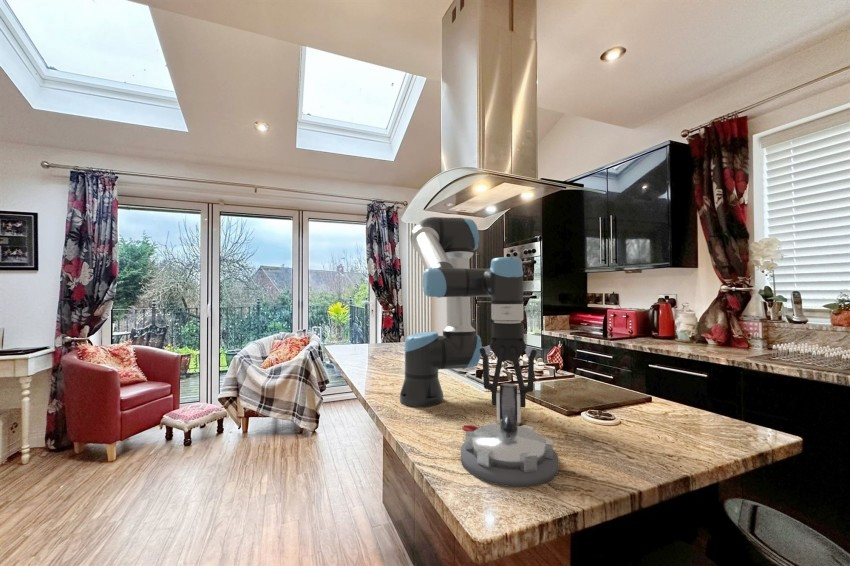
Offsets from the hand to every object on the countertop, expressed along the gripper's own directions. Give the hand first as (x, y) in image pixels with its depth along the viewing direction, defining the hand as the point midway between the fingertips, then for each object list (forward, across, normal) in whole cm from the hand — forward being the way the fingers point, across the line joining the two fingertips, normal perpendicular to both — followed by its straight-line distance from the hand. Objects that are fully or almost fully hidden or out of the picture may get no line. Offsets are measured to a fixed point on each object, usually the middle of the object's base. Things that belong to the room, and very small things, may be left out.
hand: (508, 419), depth 85 cm
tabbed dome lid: (+5, 0, -6) cm, 8 cm away
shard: (+8, +1, +19) cm, 21 cm away
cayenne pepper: (+8, -9, +9) cm, 15 cm away
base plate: (+7, 0, -6) cm, 9 cm away
